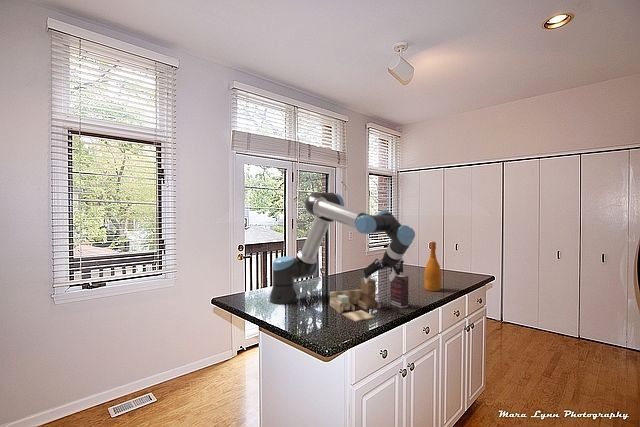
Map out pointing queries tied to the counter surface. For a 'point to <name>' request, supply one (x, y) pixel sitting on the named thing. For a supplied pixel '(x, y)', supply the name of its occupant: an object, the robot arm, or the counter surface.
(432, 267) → the wine bottle
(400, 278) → the supplement box
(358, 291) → the rack
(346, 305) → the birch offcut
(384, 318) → the counter surface
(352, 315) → the cork pad
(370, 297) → the brown rectangular block
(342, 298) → the sage offcut
